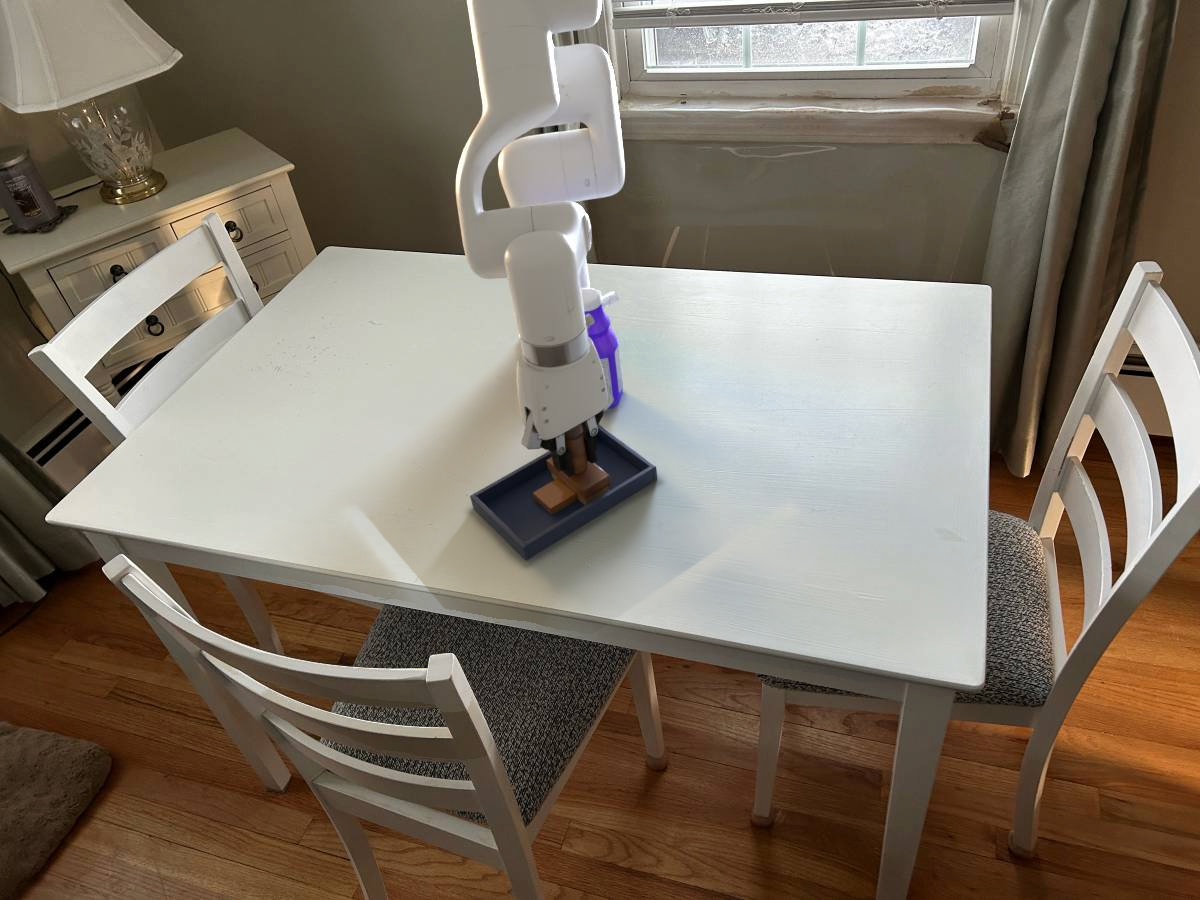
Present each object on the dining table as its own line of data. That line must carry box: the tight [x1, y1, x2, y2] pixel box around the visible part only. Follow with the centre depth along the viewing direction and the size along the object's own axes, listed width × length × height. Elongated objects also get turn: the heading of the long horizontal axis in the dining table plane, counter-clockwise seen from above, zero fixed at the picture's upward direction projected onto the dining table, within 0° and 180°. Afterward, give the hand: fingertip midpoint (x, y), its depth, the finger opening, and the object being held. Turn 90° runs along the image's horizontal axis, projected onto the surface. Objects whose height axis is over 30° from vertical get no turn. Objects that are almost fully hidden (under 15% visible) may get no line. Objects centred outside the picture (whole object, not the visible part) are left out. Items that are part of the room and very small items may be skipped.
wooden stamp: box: [546, 423, 611, 506], centre depth 112 cm, size 4×8×11 cm, turn 37°
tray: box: [469, 423, 658, 562], centre depth 114 cm, size 20×12×3 cm, turn 127°
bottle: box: [581, 287, 624, 410], centre depth 124 cm, size 7×6×17 cm
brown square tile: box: [533, 478, 578, 515], centre depth 113 cm, size 4×4×1 cm
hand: (576, 463), depth 113 cm, fingers closed on wooden stamp, 2 cm apart
